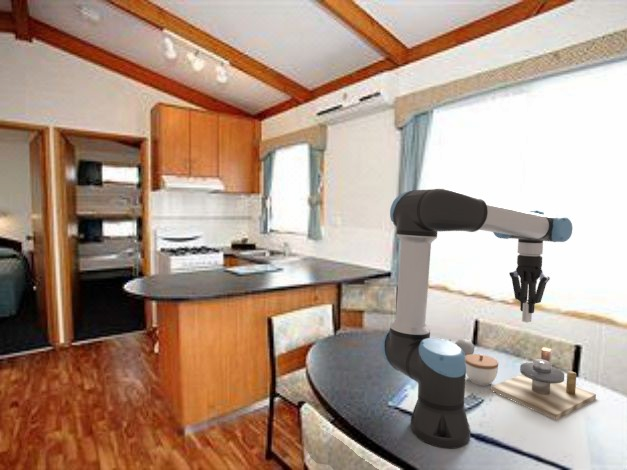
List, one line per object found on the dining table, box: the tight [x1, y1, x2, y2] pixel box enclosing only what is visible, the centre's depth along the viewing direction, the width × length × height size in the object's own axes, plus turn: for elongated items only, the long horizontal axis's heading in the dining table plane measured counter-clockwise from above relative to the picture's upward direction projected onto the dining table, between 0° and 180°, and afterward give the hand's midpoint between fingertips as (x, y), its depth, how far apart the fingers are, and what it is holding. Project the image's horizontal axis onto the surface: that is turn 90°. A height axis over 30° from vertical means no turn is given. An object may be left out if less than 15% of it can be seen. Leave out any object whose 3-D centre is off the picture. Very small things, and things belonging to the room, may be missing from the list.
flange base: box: [490, 370, 597, 421], centre depth 120 cm, size 24×20×8 cm
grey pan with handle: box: [519, 347, 565, 383], centre depth 122 cm, size 18×12×6 cm
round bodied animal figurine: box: [448, 338, 475, 356], centre depth 149 cm, size 7×12×8 cm, turn 66°
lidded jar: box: [465, 353, 499, 387], centre depth 129 cm, size 11×11×9 cm
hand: (526, 321), depth 132 cm, fingers closed
